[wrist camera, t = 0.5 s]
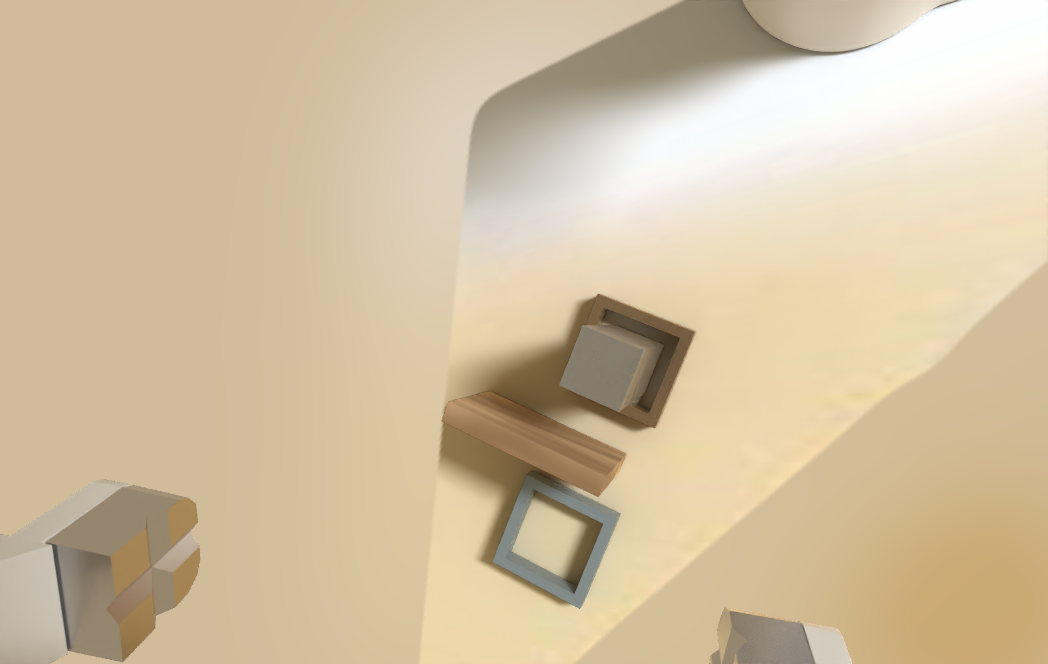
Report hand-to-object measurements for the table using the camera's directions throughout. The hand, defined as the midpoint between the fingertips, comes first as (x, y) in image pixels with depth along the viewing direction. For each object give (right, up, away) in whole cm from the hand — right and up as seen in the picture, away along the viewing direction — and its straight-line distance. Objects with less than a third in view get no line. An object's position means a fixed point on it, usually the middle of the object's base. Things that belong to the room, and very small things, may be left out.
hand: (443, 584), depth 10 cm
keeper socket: (+4, -12, +43) cm, 45 cm away
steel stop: (+9, +2, +41) cm, 42 cm away
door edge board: (+3, -4, +43) cm, 44 cm away
